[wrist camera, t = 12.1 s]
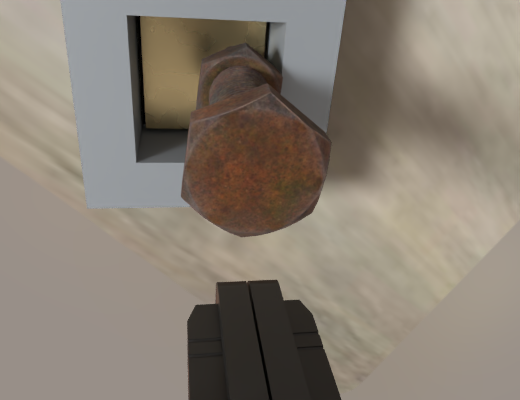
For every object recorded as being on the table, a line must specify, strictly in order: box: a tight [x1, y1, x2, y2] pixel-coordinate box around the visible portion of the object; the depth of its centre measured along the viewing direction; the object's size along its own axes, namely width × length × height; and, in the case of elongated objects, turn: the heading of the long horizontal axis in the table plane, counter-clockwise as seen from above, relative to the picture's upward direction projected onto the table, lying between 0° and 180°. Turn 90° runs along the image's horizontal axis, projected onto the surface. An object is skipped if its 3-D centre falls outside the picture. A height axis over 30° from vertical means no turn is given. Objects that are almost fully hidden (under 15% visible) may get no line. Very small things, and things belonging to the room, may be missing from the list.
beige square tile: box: [140, 16, 266, 129], centre depth 31 cm, size 7×7×2 cm
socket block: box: [60, 0, 346, 208], centre depth 29 cm, size 14×14×6 cm
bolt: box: [181, 42, 331, 237], centre depth 24 cm, size 6×5×15 cm
